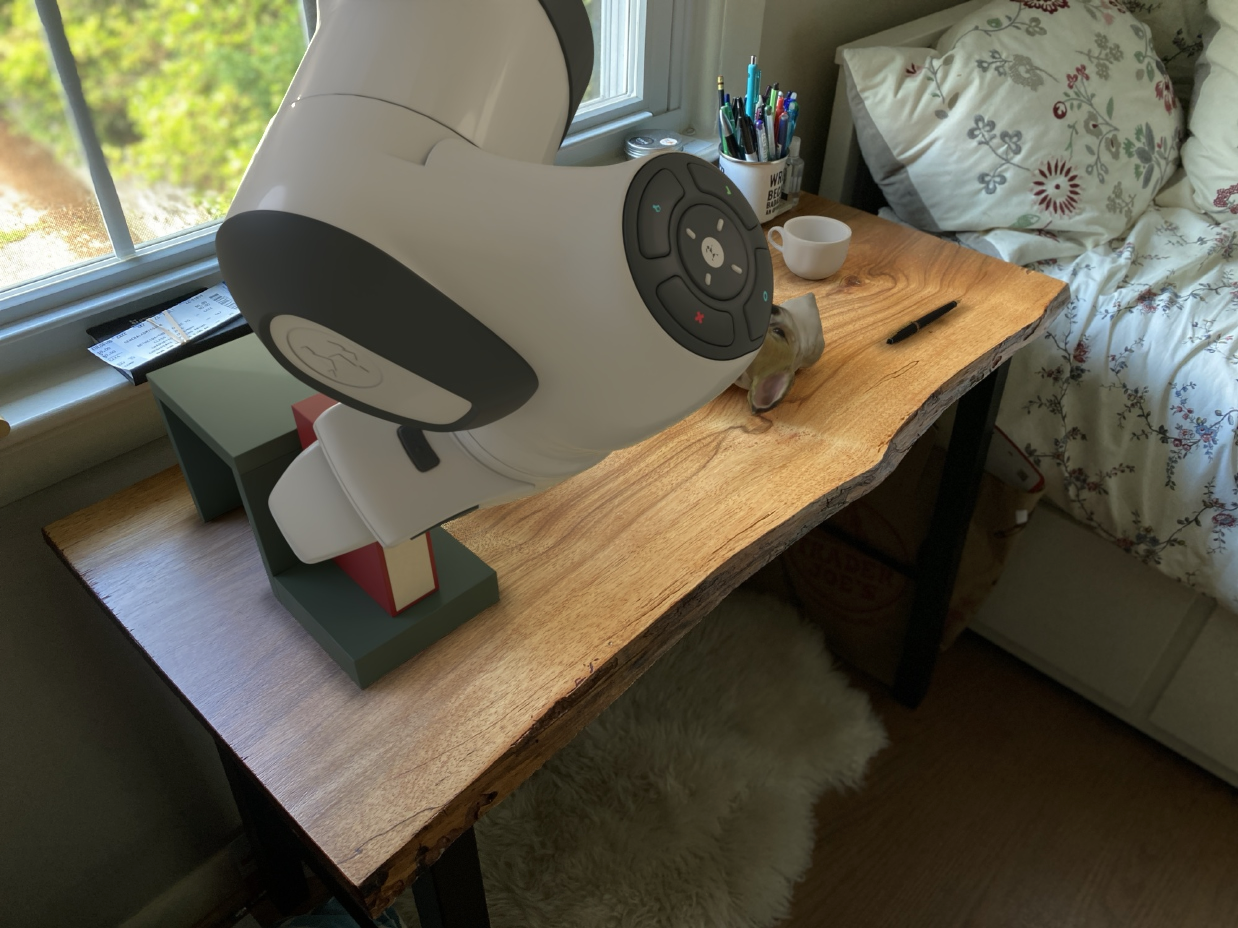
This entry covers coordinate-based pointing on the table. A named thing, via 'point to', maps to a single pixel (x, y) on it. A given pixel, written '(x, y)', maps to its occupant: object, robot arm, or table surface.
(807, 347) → the ceramic sculpture
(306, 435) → the book
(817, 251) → the teacup
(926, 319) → the fountain pen
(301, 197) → the robot arm
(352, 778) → the table surface
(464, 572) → the shelf
